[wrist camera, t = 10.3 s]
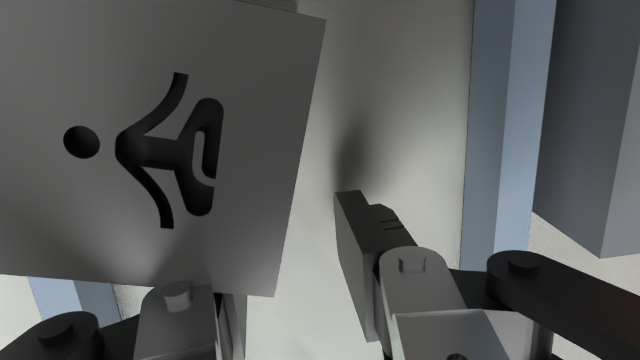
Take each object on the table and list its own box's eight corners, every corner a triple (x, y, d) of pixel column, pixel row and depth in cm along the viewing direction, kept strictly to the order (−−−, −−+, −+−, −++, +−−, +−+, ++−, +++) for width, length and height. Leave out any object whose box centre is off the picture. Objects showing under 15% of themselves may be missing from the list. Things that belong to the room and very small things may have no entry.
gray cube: (267, 196, 13) (274, 297, 8) (84, 172, 12) (-25, 272, 7) (297, 18, 11) (325, 20, 7) (88, -26, 10) (-47, -61, 6)
